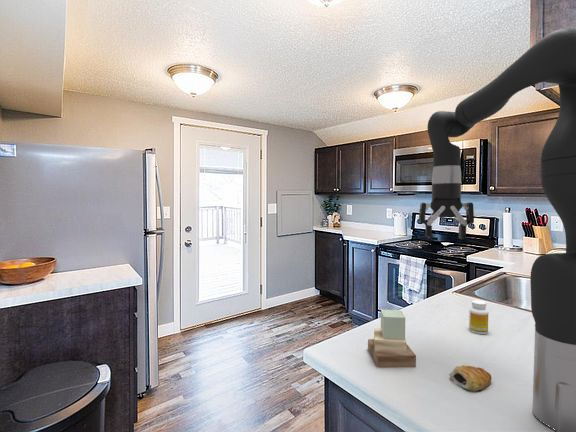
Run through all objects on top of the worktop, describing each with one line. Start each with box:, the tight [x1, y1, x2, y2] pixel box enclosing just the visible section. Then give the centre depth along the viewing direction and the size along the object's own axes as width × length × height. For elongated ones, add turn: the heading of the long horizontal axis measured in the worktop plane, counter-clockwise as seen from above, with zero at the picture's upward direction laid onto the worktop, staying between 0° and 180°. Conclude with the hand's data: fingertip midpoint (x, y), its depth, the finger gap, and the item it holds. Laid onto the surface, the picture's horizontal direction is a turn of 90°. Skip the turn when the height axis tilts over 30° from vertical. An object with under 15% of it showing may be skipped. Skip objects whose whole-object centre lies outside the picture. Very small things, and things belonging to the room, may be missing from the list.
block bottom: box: [367, 338, 417, 368], centre depth 89 cm, size 10×10×4 cm
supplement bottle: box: [468, 299, 489, 335], centre depth 105 cm, size 5×5×10 cm
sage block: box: [380, 309, 406, 340], centre depth 88 cm, size 6×6×6 cm
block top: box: [373, 327, 408, 355], centre depth 89 cm, size 8×8×4 cm
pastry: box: [448, 364, 492, 392], centre depth 77 cm, size 9×7×4 cm
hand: (445, 238), depth 94 cm, fingers open, 8 cm apart
